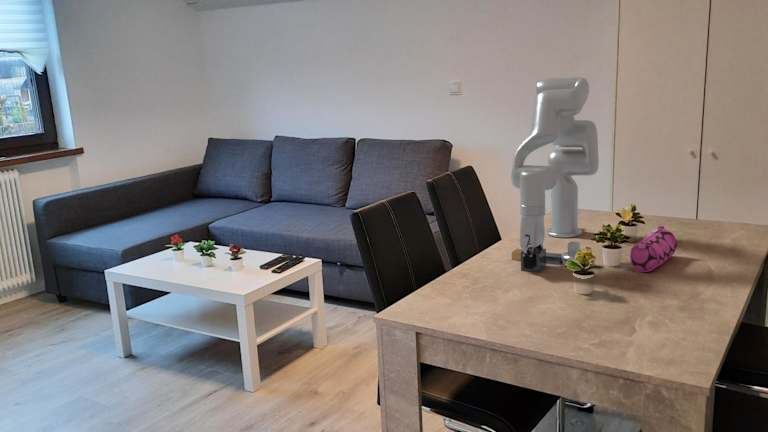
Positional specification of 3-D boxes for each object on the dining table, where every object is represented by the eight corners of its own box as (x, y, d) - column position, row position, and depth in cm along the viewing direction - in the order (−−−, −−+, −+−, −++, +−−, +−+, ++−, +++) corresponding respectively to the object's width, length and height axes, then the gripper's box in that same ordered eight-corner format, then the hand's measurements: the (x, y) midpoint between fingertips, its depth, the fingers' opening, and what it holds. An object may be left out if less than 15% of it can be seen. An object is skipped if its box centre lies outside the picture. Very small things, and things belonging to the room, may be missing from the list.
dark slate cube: (527, 265, 211) (527, 247, 210) (546, 267, 208) (545, 248, 207) (521, 270, 206) (520, 252, 205) (539, 272, 203) (539, 253, 202)
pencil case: (645, 253, 216) (646, 223, 214) (677, 256, 210) (678, 226, 208) (626, 271, 199) (626, 239, 197) (660, 275, 194) (661, 243, 191)
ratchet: (509, 261, 217) (509, 240, 215) (518, 254, 223) (518, 234, 221) (582, 269, 204) (582, 247, 203) (589, 262, 210) (589, 241, 209)
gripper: (531, 203, 212) (531, 256, 216) (510, 215, 198) (511, 271, 202) (553, 204, 208) (554, 258, 212) (534, 217, 194) (535, 274, 198)
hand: (533, 264), depth 207 cm, fingers open, 7 cm apart
